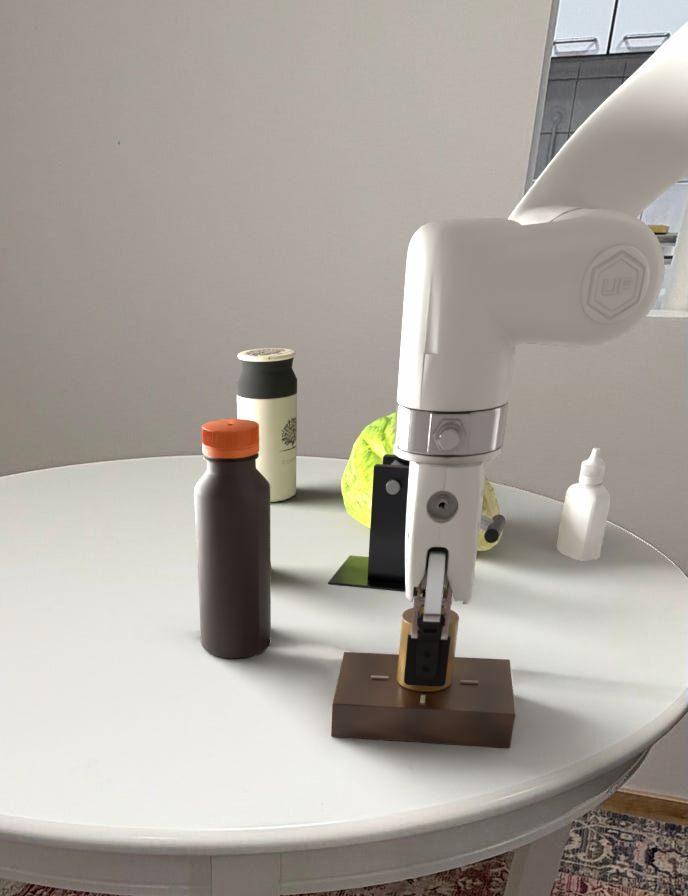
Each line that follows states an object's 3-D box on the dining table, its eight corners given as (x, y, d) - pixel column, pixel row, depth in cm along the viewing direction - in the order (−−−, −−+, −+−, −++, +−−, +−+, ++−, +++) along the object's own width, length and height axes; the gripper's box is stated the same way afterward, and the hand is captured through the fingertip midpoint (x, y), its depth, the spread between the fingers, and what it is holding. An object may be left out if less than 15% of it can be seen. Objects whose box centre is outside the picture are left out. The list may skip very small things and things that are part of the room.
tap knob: (397, 667, 80) (403, 600, 77) (451, 669, 79) (459, 602, 76) (395, 690, 77) (401, 622, 73) (451, 693, 76) (459, 624, 72)
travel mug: (227, 496, 134) (223, 354, 124) (267, 484, 138) (266, 345, 128) (268, 507, 129) (267, 359, 119) (307, 494, 133) (310, 350, 123)
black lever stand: (454, 575, 106) (468, 453, 98) (439, 604, 99) (452, 476, 91) (349, 565, 109) (354, 447, 102) (327, 593, 103) (331, 469, 95)
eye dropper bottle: (556, 568, 106) (576, 454, 99) (554, 552, 110) (573, 442, 103) (598, 570, 105) (621, 455, 98) (594, 553, 109) (616, 442, 102)
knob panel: (505, 691, 82) (510, 657, 80) (510, 748, 74) (515, 712, 73) (342, 682, 85) (344, 649, 83) (330, 736, 77) (332, 701, 75)
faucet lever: (498, 534, 99) (511, 513, 98) (491, 550, 96) (504, 528, 94) (387, 477, 100) (398, 456, 99) (376, 490, 97) (386, 468, 95)
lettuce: (410, 594, 104) (455, 467, 96) (315, 506, 121) (346, 391, 112) (517, 597, 110) (568, 478, 102) (413, 513, 127) (449, 405, 118)
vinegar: (191, 639, 94) (179, 422, 83) (253, 626, 96) (250, 412, 84) (217, 665, 89) (208, 438, 77) (282, 651, 91) (283, 427, 79)
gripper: (509, 461, 59) (473, 721, 70) (500, 404, 73) (471, 630, 83) (387, 460, 61) (371, 715, 71) (400, 405, 74) (385, 627, 85)
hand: (425, 667), depth 77 cm, fingers closed on tap knob, 4 cm apart
